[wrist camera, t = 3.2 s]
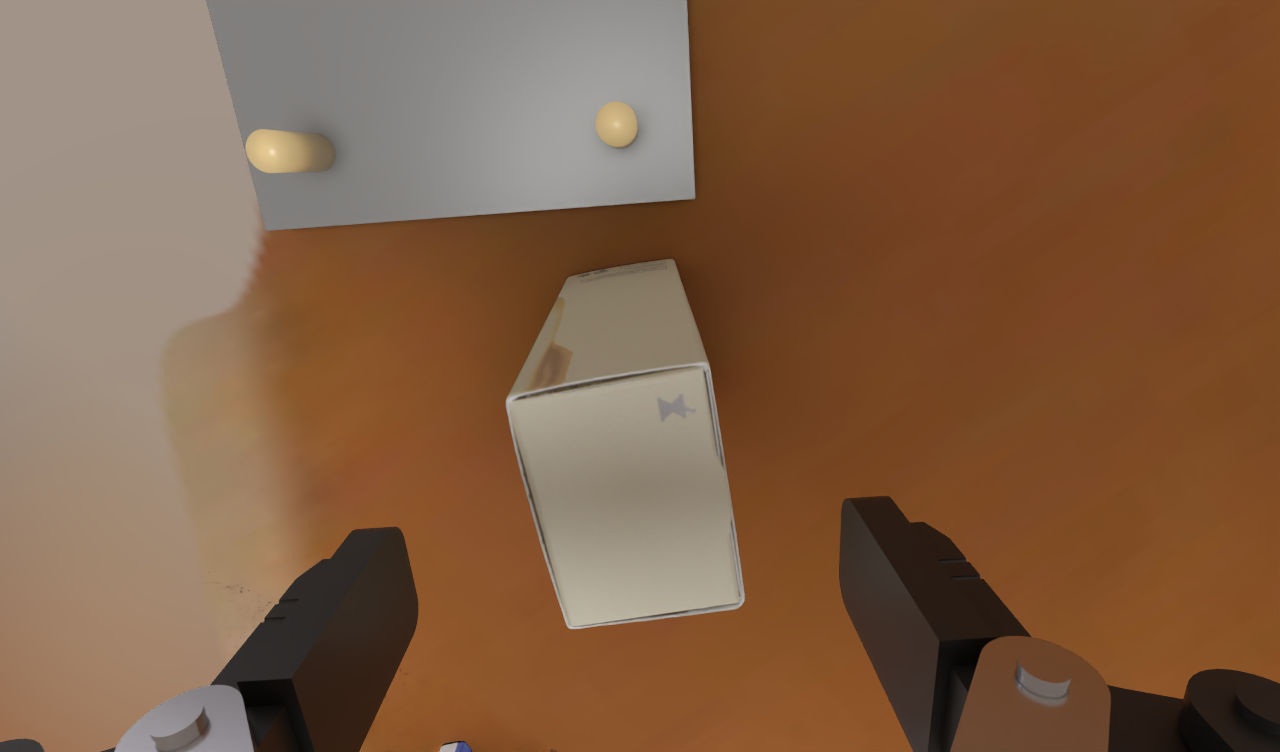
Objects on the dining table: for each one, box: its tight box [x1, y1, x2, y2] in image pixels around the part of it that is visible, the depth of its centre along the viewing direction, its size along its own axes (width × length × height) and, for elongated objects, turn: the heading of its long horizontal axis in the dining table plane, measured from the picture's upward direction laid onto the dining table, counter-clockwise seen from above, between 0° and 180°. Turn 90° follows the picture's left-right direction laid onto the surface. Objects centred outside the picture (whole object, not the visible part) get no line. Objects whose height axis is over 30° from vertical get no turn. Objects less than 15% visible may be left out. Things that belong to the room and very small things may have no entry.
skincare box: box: [506, 259, 745, 629], centre depth 19 cm, size 6×4×12 cm
